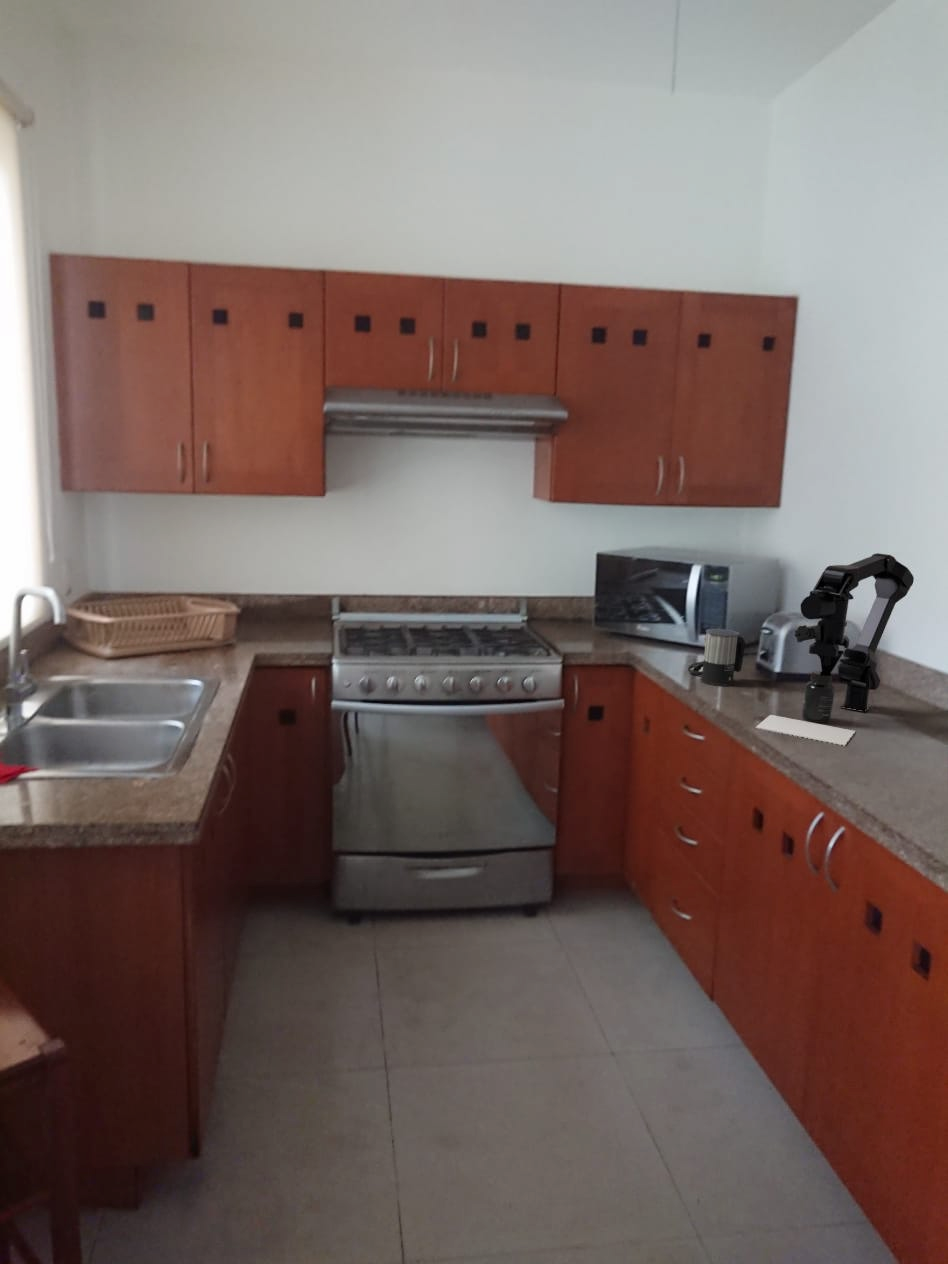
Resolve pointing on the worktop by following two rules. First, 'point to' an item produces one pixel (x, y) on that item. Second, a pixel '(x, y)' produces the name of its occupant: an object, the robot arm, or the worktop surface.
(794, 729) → the mat
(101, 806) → the worktop surface
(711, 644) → the milk frother
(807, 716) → the supplement bottle
